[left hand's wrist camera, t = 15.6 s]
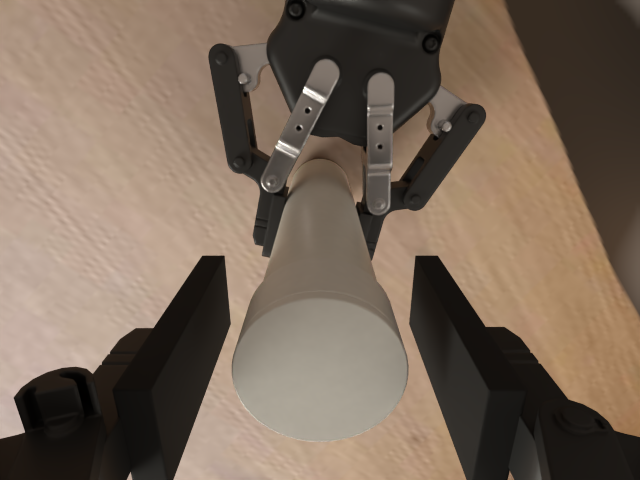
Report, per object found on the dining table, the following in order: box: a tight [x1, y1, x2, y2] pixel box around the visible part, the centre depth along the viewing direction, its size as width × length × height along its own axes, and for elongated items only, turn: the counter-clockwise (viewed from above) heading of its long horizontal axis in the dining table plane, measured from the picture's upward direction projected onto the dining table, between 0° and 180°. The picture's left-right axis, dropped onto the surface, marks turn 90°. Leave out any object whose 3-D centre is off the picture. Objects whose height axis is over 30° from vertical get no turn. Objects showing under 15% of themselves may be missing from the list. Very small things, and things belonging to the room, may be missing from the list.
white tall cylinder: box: [264, 159, 377, 281], centre depth 20 cm, size 4×4×19 cm
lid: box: [232, 258, 408, 442], centre depth 11 cm, size 4×4×2 cm
